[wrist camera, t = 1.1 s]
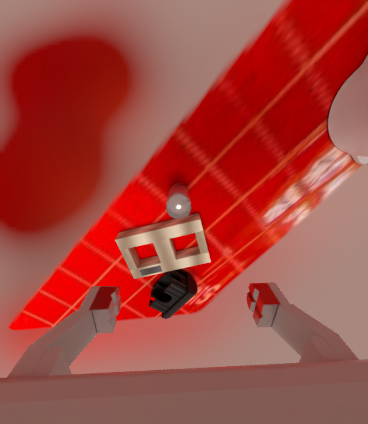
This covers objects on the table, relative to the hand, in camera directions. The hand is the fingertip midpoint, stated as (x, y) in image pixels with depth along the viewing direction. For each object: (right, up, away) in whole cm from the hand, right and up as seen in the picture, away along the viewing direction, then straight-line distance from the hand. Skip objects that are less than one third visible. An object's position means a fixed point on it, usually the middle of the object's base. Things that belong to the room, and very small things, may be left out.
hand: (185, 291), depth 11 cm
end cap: (-3, -13, +35) cm, 37 cm away
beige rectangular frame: (-4, -2, +30) cm, 30 cm away
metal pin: (-1, +9, +25) cm, 27 cm away
